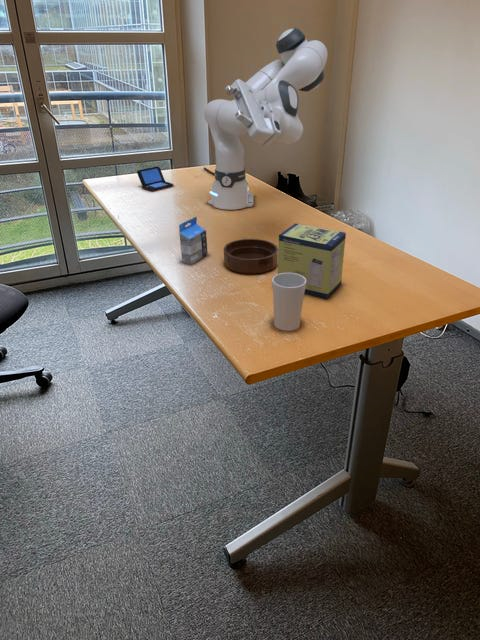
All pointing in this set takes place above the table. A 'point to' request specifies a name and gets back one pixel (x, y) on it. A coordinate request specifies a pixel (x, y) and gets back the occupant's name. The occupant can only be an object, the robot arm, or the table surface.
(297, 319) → the cup
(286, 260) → the protein box
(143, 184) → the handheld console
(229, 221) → the table surface
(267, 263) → the bowl
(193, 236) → the label tape box
